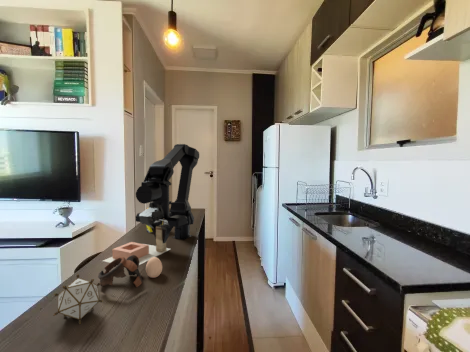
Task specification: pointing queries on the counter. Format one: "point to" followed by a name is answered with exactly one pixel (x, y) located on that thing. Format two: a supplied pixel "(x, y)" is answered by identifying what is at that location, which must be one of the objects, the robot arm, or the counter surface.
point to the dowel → (159, 240)
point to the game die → (78, 298)
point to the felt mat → (145, 258)
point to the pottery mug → (121, 270)
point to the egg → (154, 267)
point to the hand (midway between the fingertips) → (161, 242)
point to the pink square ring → (130, 250)
